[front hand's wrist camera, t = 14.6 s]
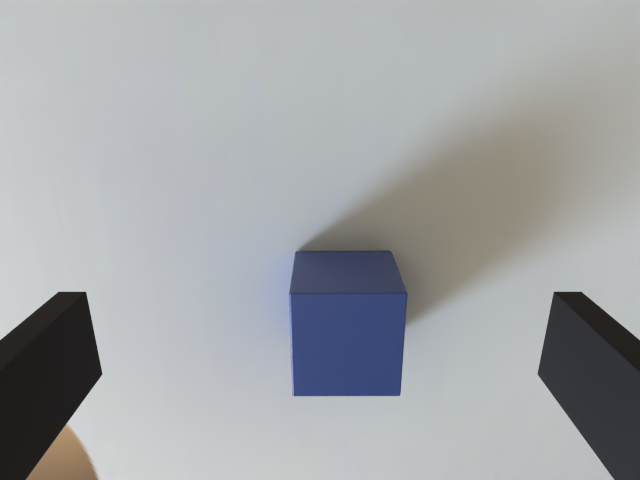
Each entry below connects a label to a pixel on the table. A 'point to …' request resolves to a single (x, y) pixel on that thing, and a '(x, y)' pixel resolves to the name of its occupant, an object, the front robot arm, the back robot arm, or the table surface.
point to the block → (346, 324)
